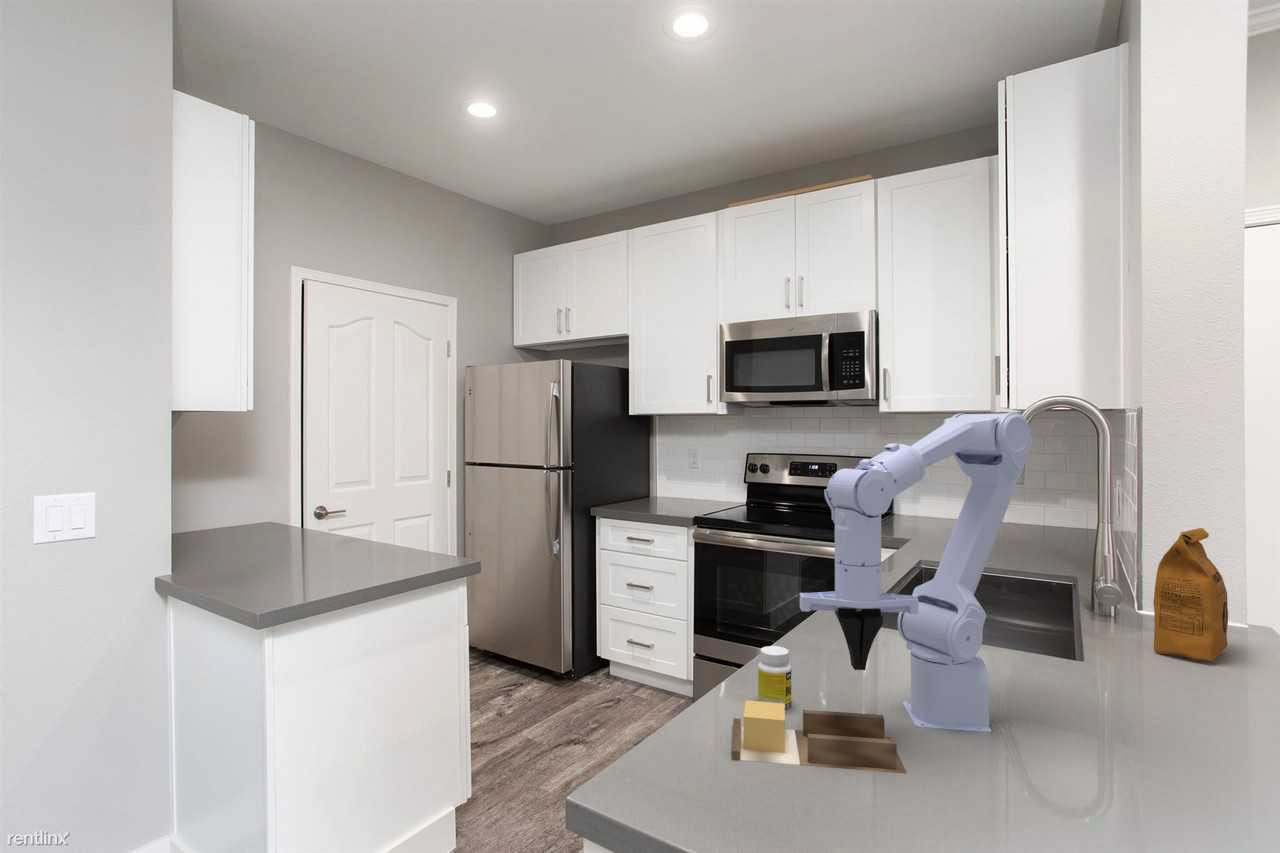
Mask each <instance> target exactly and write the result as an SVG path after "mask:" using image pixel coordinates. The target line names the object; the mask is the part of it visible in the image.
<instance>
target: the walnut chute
mask: <svg viewBox="0 0 1280 853" xmlns="http://www.w3.org/2000/svg"><path fill="white" fill-rule="evenodd" d="M732 723H733V724H732V736H731V737H732V740H731V742H732V743H731V760H732V761H743V762H755V763H758V762H759V763H770V764H771V763H772V764H783V765H794V766H795V765H796V766H808V767H818V768H819V767H820V768H831V769H832V768H833V769H845V770H859V771H868V772H869V771H870V772H882V773H898V774H908V773H907V770H906V768H905V765H904V763H903V762H902V759H901V757H900V756H899V753H898V751H897V749H898V748H897V742H896V740H895V739H892V737H891V736H887V735H885V716H884V714H876V713H875V714H874V713H862V712H861V713H858V712H843V711H829V710H828V711H827V710H814V709H813V710H812V709H802V730H800V729H789V728H787V729H786V728H785V753H779V752H769V751H759V750H749V749H744V725H742V719H741V718H736V717H733V720H732Z"/></svg>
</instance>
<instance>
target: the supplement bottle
mask: <svg viewBox="0 0 1280 853" xmlns="http://www.w3.org/2000/svg"><path fill="white" fill-rule="evenodd" d="M789 651H790V650H789V649H787V648H785V647H783V646H778V645H777V646H776V645H769V646H763V647H761V648H760V655H759V656H760V661H759V662H758V666H757V677H758V678H757V701H760V702H772V703H784V704H785V713H786V712H788V711H790V710H791V709H792V666H791V664H790V663H789V661H790V652H789Z"/></svg>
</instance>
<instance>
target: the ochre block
mask: <svg viewBox="0 0 1280 853" xmlns="http://www.w3.org/2000/svg"><path fill="white" fill-rule="evenodd" d="M743 711H744V712H743V726H744V749H749V750H759V751H769V752H779V753H785V729H786V724H785V723H786V718H785V717H786V712H785V704H784V703H772V702H760V701H758V700H745V703H744V710H743Z"/></svg>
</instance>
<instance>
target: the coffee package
mask: <svg viewBox="0 0 1280 853" xmlns="http://www.w3.org/2000/svg"><path fill="white" fill-rule="evenodd" d="M1209 537H1210V535H1209V533H1208V532H1207V531H1206V530H1205V529H1204V528H1202V527H1198V528H1195V529H1189V530H1186V531H1180V535H1179V536H1178V538H1177V539H1176V540H1175V542H1174V543H1173V544H1172V545H1171V546H1170V548H1169V549H1168V550H1167V551H1166V552H1165V554H1163V556H1162V558H1161V560H1160V561H1159V564H1158V565H1157V569H1156V577H1155V585H1154V593H1153V594H1154V595H1153V603H1152V604H1153V609H1154V632H1153V633H1154V634H1153V651H1154V652H1156V653H1158V654H1160V655H1169V656H1176V657H1182V658H1186V659H1187V658H1188V659H1192V660H1198V661H1208V662H1213V661H1215V659H1217V658H1218V657H1219V656H1221V655H1222V654H1223V653H1224V652H1225V650H1226V648H1227V647H1228V625H1229V609H1228V606H1229V605H1228V603H1229V602H1228V591H1227V588H1226V584H1225V581H1224V579H1223V576H1222V574H1221V572H1220V571H1219V569H1218V568H1217V567H1216V565H1215V564H1214V563H1213V562H1212V561H1211V559H1210V558H1209V557H1208V556H1207V552H1206V550H1205V548H1204V546H1203V544H1202V542H1201V541H1203V540H1205V539H1208V538H1209Z"/></svg>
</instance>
